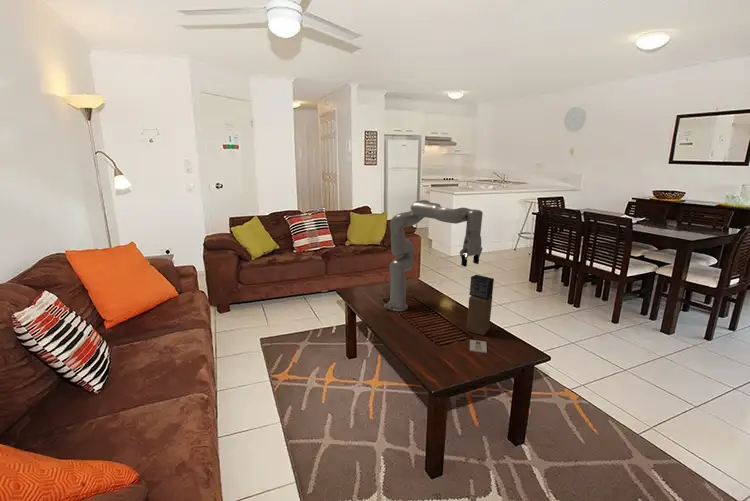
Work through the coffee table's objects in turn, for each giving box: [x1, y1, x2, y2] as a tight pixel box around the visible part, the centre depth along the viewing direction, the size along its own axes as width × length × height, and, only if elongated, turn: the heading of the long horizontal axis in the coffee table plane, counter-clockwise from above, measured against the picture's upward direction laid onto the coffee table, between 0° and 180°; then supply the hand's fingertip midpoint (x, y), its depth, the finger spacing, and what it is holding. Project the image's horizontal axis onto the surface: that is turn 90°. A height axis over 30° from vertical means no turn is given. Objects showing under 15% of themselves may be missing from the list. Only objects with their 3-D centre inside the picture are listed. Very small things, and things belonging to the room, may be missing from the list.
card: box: [469, 339, 488, 354], centre depth 192 cm, size 8×11×1 cm
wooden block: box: [466, 295, 493, 336], centre depth 208 cm, size 10×10×20 cm
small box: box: [469, 274, 495, 300], centre depth 204 cm, size 11×6×10 cm, turn 48°
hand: (469, 264), depth 206 cm, fingers open, 9 cm apart
